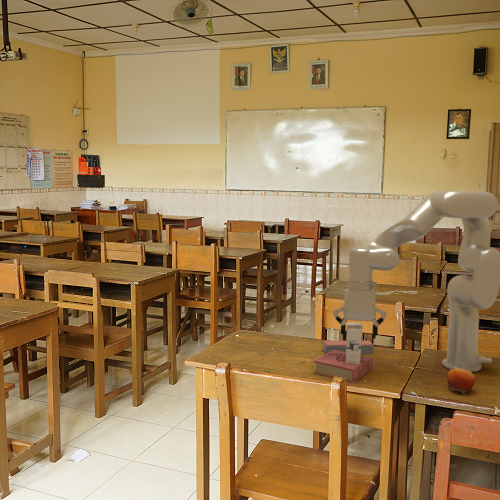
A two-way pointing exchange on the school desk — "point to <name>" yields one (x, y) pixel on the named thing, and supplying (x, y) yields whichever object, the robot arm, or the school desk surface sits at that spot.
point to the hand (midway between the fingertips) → (359, 337)
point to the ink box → (353, 343)
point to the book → (342, 366)
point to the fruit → (460, 380)
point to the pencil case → (341, 346)
